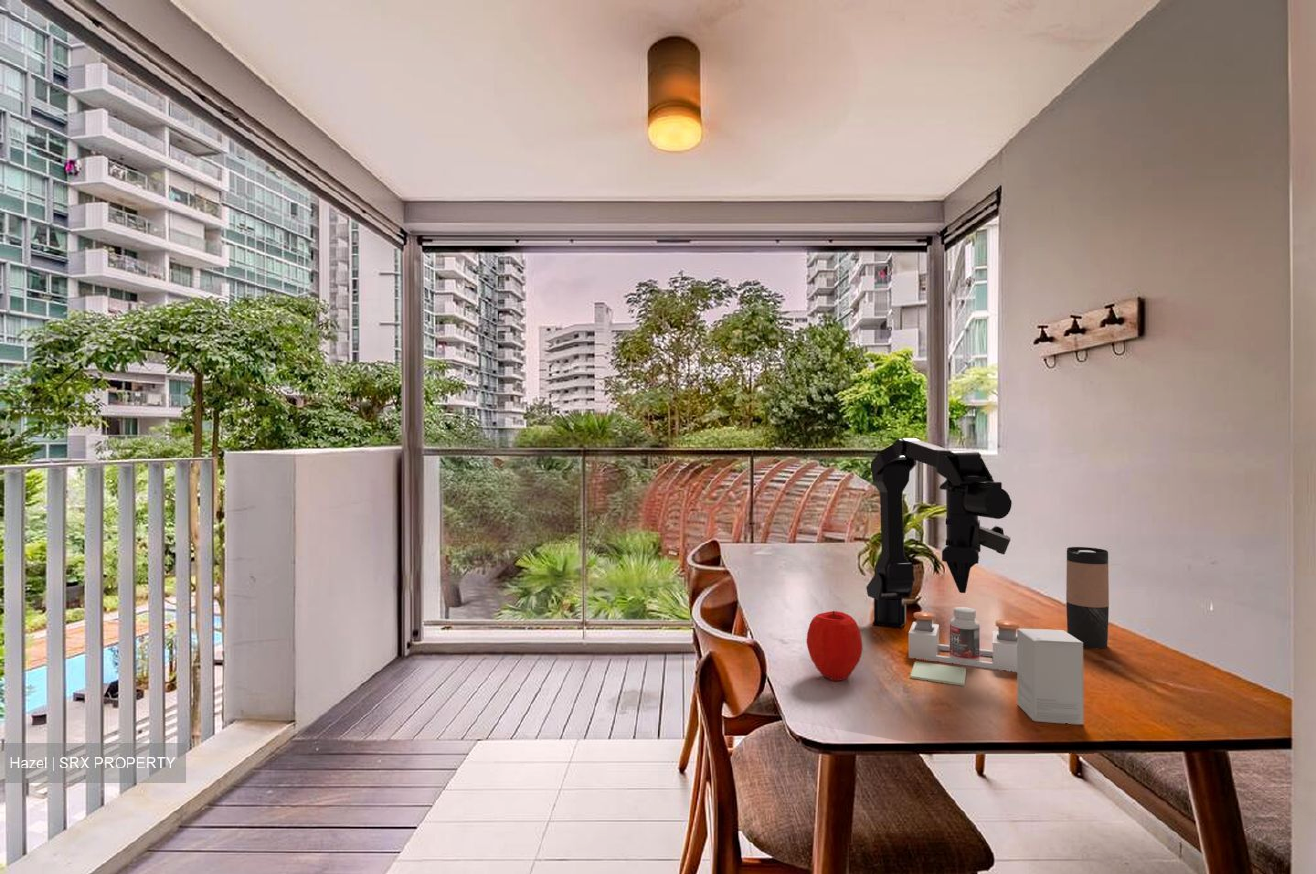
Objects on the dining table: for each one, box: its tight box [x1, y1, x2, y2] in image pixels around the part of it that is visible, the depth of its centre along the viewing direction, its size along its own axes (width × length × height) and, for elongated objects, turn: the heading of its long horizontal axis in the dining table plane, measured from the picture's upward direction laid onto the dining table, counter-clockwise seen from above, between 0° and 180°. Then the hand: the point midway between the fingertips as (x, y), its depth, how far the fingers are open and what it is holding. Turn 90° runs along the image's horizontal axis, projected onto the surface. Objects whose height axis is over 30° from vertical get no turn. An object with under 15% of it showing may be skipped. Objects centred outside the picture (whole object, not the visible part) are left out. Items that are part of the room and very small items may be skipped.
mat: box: [909, 661, 967, 687], centre depth 126 cm, size 9×9×1 cm
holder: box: [908, 621, 1017, 673], centre depth 135 cm, size 20×9×5 cm, turn 64°
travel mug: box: [1065, 546, 1110, 650], centre depth 145 cm, size 8×8×20 cm
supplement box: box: [1016, 628, 1084, 725], centre depth 108 cm, size 7×7×13 cm
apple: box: [806, 610, 863, 682], centre depth 125 cm, size 10×10×12 cm
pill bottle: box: [949, 606, 981, 661], centre depth 135 cm, size 5×5×10 cm
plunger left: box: [913, 611, 936, 632], centre depth 138 cm, size 4×4×5 cm
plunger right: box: [995, 620, 1020, 642], centre depth 132 cm, size 4×4×5 cm
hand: (962, 592), depth 135 cm, fingers closed
